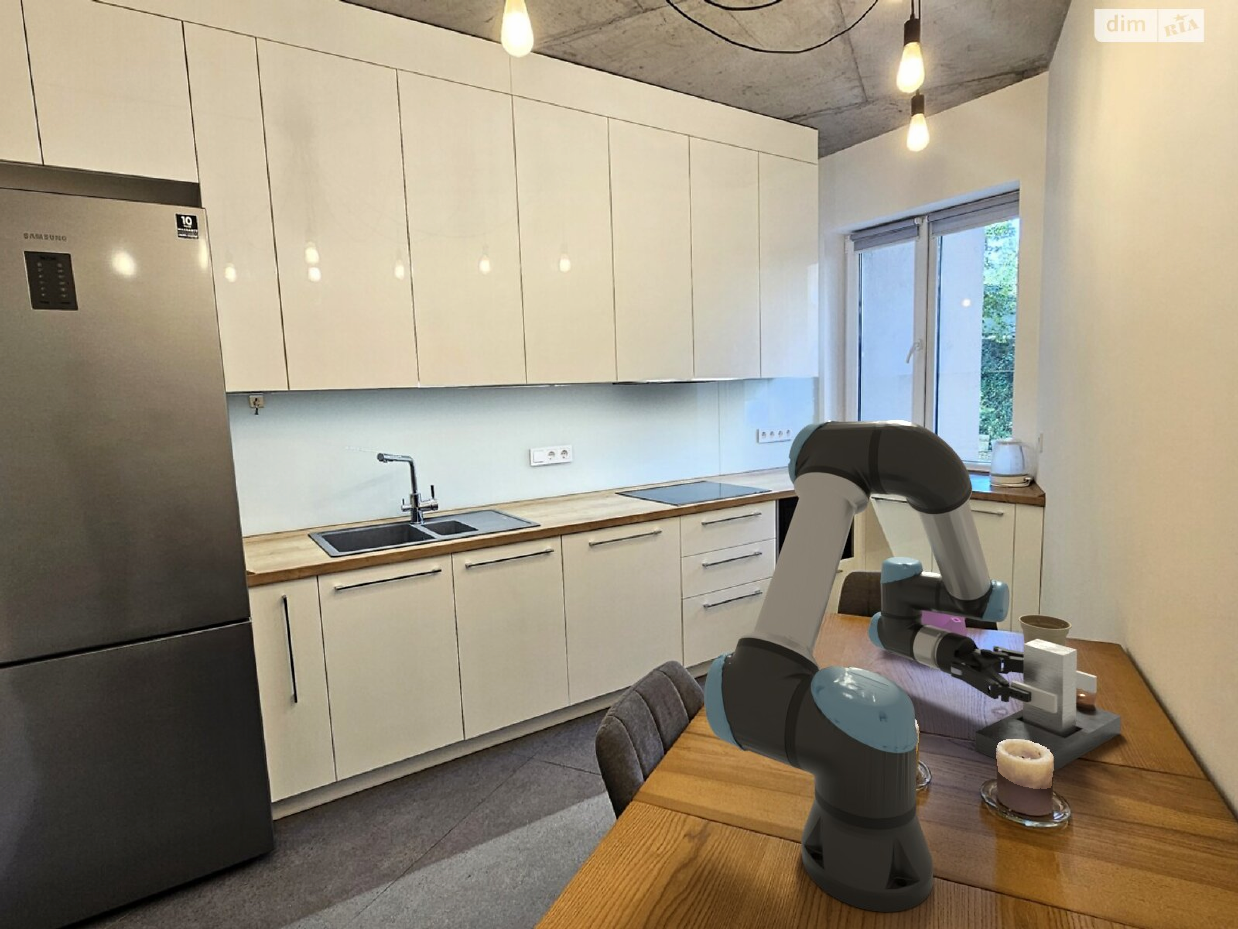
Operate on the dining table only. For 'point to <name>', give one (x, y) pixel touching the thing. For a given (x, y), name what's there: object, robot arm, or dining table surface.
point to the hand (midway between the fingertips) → (1076, 694)
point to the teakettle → (945, 622)
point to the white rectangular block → (1051, 685)
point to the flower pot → (1044, 628)
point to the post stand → (1089, 734)
